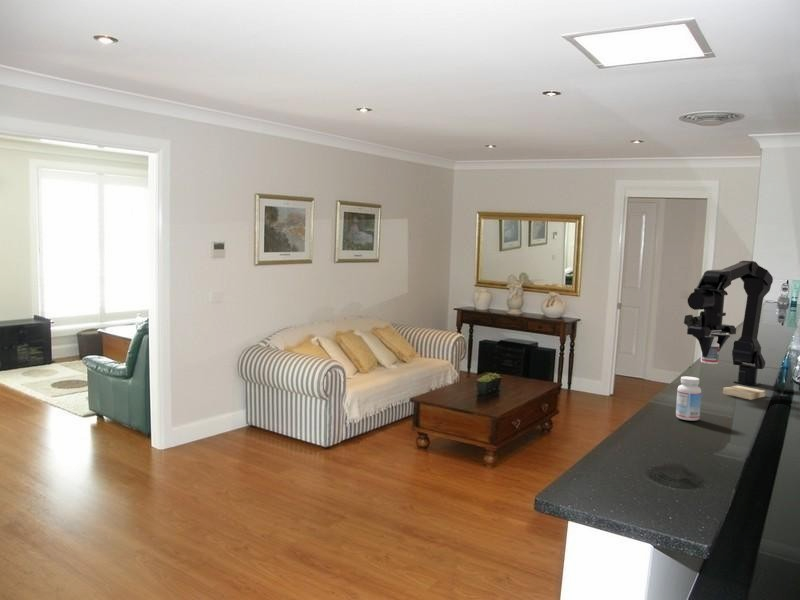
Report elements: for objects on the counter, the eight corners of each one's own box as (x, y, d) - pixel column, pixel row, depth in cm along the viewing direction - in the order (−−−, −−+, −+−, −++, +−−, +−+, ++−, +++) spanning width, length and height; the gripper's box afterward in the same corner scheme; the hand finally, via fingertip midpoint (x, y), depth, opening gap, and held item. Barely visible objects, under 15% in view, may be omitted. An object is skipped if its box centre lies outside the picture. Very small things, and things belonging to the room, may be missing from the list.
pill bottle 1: (698, 416, 177) (701, 377, 176) (700, 422, 171) (703, 381, 170) (674, 414, 179) (677, 374, 178) (676, 419, 173) (679, 378, 172)
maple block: (737, 392, 213) (737, 385, 212) (765, 398, 205) (765, 391, 205) (722, 395, 208) (723, 387, 207) (750, 401, 200) (751, 393, 200)
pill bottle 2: (720, 364, 207) (722, 337, 206) (702, 363, 208) (705, 336, 207) (715, 361, 212) (717, 335, 211) (698, 360, 213) (700, 334, 212)
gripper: (707, 305, 220) (703, 350, 222) (673, 307, 210) (670, 353, 212) (738, 309, 211) (734, 355, 212) (705, 310, 201) (701, 359, 202)
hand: (709, 356), depth 210 cm, fingers closed on pill bottle 2, 5 cm apart
